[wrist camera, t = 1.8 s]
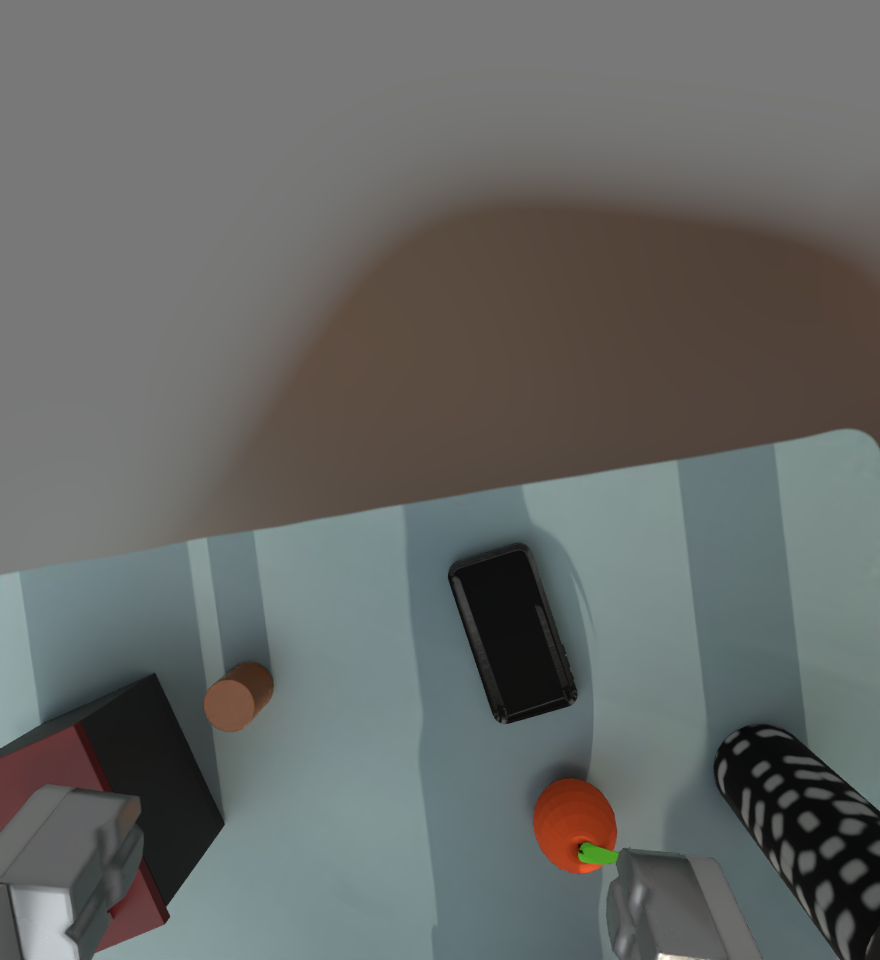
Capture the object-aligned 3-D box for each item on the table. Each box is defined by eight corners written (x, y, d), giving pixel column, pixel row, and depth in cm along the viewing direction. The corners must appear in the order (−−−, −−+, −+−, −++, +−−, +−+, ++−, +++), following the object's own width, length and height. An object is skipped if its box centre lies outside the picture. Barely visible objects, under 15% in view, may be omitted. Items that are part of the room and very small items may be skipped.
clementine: (626, 776, 51) (650, 827, 44) (608, 849, 51) (628, 911, 44) (539, 753, 52) (548, 800, 45) (522, 825, 52) (528, 883, 45)
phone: (496, 727, 51) (444, 567, 50) (496, 721, 52) (445, 565, 52) (582, 702, 50) (529, 541, 50) (579, 697, 51) (528, 539, 51)
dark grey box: (225, 824, 54) (166, 906, 44) (108, 874, 55) (26, 964, 45) (155, 672, 54) (81, 720, 44) (40, 724, 55) (-58, 782, 45)
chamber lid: (170, 916, 44) (132, 971, 39) (29, 974, 45) (-24, 1035, 40) (80, 720, 44) (32, 751, 39) (-58, 782, 45) (-122, 820, 40)
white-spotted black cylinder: (693, 764, 51) (830, 960, 31) (766, 705, 50) (954, 865, 30) (757, 835, 50) (936, 1079, 30) (831, 776, 50) (1064, 986, 30)
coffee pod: (271, 712, 53) (252, 735, 49) (224, 707, 54) (201, 728, 49) (275, 664, 53) (256, 682, 49) (228, 659, 54) (205, 676, 49)
